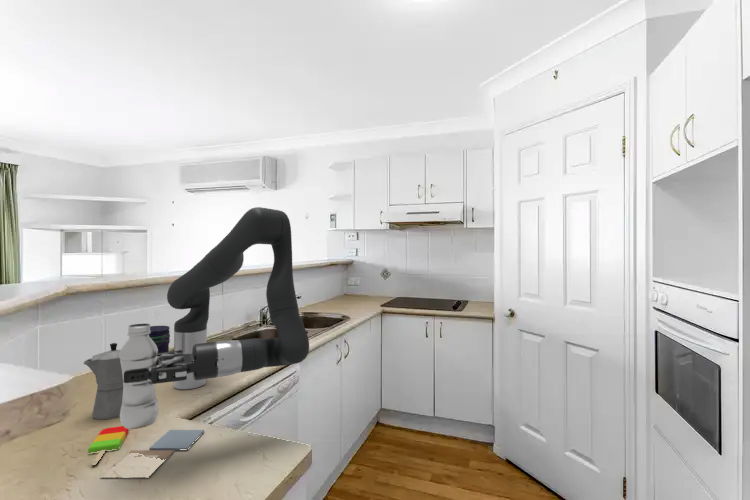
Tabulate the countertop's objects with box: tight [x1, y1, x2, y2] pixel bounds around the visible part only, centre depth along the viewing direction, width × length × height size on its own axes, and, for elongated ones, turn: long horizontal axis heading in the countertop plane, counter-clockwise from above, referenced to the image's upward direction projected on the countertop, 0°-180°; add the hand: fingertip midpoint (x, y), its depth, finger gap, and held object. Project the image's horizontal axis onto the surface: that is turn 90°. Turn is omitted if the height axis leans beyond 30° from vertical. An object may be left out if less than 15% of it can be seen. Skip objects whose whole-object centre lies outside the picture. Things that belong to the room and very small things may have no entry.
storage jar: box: [149, 325, 171, 362], centre depth 131 cm, size 10×10×15 cm
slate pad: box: [148, 429, 205, 450], centre depth 83 cm, size 8×8×1 cm
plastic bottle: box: [119, 322, 160, 430], centre depth 74 cm, size 6×7×20 cm
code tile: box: [128, 449, 175, 460], centre depth 74 cm, size 9×9×1 cm
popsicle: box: [87, 425, 130, 462], centre depth 80 cm, size 6×15×2 cm, turn 21°
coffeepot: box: [83, 342, 123, 421], centre depth 99 cm, size 15×9×18 cm, turn 150°
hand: (125, 371), depth 73 cm, fingers closed on plastic bottle, 6 cm apart
